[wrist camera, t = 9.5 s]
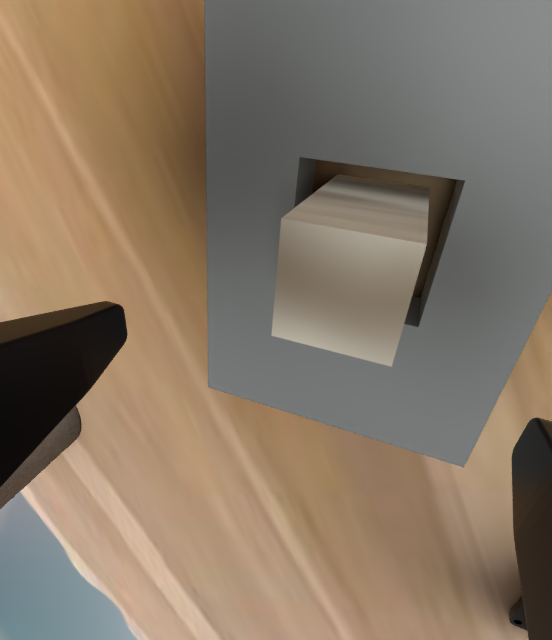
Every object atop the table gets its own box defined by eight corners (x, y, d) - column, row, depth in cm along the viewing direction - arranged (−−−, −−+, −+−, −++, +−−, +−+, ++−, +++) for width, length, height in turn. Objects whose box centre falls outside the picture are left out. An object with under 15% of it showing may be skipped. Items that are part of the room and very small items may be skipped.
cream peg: (406, 273, 19) (391, 366, 12) (325, 257, 20) (271, 335, 13) (429, 187, 17) (426, 244, 10) (337, 174, 18) (281, 218, 11)
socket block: (460, 425, 22) (463, 467, 19) (230, 359, 25) (208, 387, 23) (684, -66, 11) (753, -113, 9) (241, -65, 15) (203, -97, 12)
